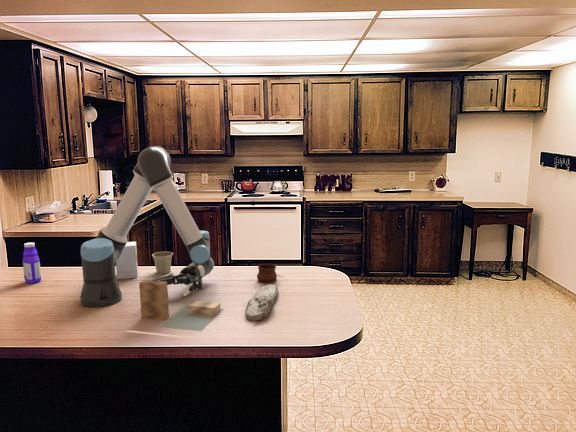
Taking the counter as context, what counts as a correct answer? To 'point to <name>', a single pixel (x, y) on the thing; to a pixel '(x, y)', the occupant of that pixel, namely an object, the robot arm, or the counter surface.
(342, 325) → the counter surface
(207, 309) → the tan wooden block
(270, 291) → the elongated rock
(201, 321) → the mat
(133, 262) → the supplement box
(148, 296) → the slab
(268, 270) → the ceramic pot
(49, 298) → the counter surface
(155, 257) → the flower pot
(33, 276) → the bottle
